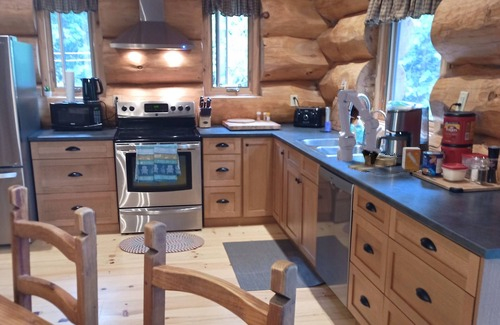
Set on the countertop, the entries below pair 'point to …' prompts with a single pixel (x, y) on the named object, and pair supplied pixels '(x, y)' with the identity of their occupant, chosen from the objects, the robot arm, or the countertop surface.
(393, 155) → the lid
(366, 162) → the walnut block
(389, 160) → the puzzle board
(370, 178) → the countertop surface
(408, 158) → the small box
